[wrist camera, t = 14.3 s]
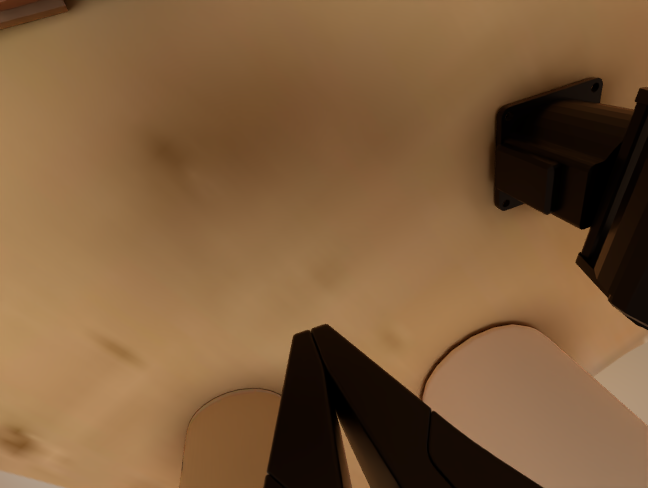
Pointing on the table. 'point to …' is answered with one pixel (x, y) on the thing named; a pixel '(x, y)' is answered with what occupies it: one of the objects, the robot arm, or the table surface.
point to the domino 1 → (14, 3)
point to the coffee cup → (230, 441)
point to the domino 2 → (31, 12)
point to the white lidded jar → (539, 411)
